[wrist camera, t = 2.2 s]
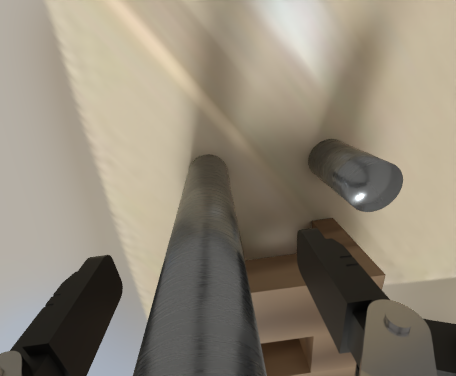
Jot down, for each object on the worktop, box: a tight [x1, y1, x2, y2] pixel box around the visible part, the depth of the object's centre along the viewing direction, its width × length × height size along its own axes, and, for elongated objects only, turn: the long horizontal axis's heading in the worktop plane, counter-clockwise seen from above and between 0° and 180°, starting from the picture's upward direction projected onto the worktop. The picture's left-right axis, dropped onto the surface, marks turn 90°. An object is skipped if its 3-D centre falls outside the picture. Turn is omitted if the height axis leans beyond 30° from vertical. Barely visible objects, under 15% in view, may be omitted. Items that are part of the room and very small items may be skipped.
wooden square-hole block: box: [245, 218, 385, 376], centre depth 21 cm, size 16×14×7 cm
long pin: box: [133, 155, 267, 376], centre depth 12 cm, size 3×3×15 cm
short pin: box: [309, 139, 403, 212], centre depth 16 cm, size 3×3×6 cm
